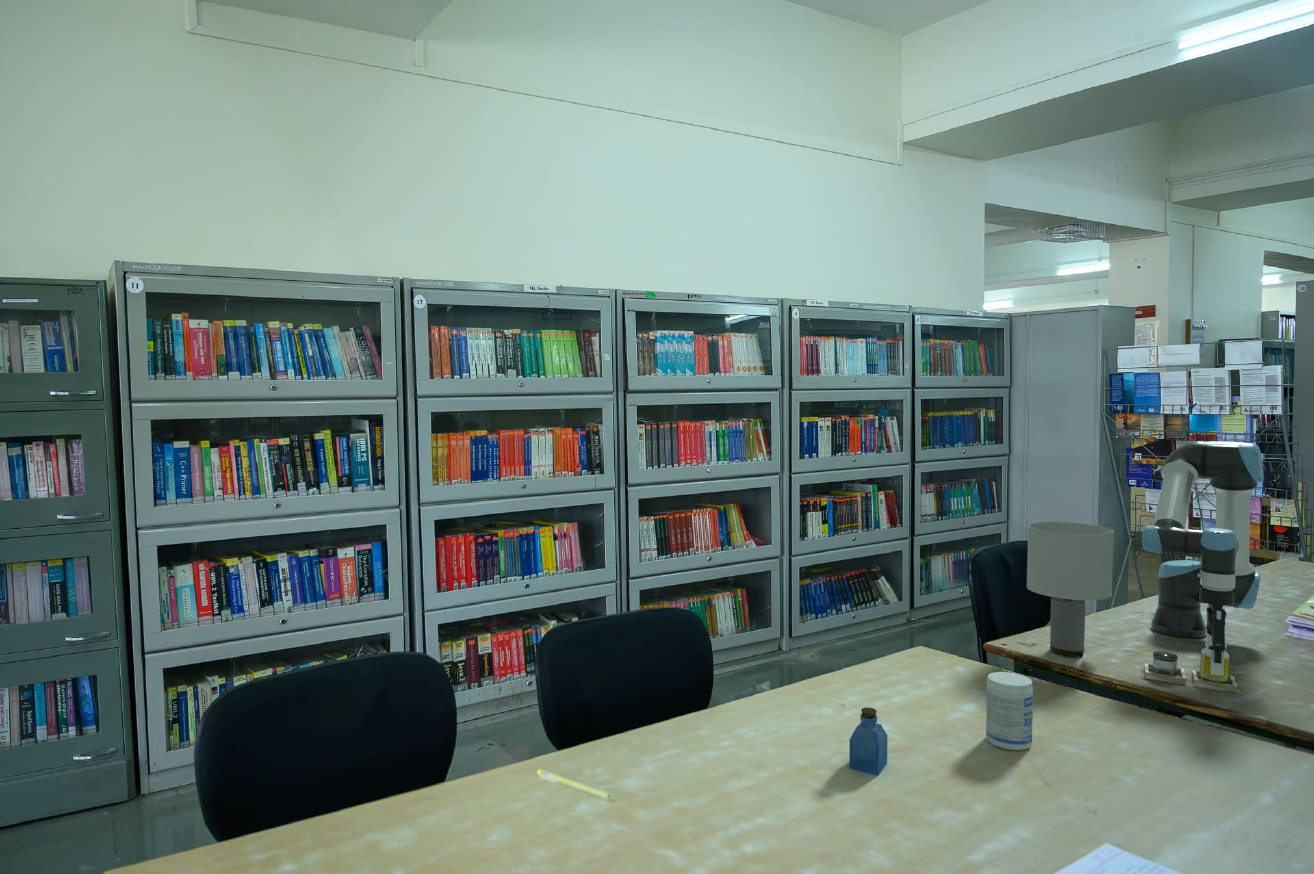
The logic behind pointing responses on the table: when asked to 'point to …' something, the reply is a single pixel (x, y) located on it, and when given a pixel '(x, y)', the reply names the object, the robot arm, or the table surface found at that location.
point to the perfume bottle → (868, 744)
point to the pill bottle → (1206, 665)
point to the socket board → (1190, 680)
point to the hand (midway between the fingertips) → (1214, 666)
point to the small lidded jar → (1165, 663)
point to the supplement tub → (1009, 710)
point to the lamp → (1069, 576)
